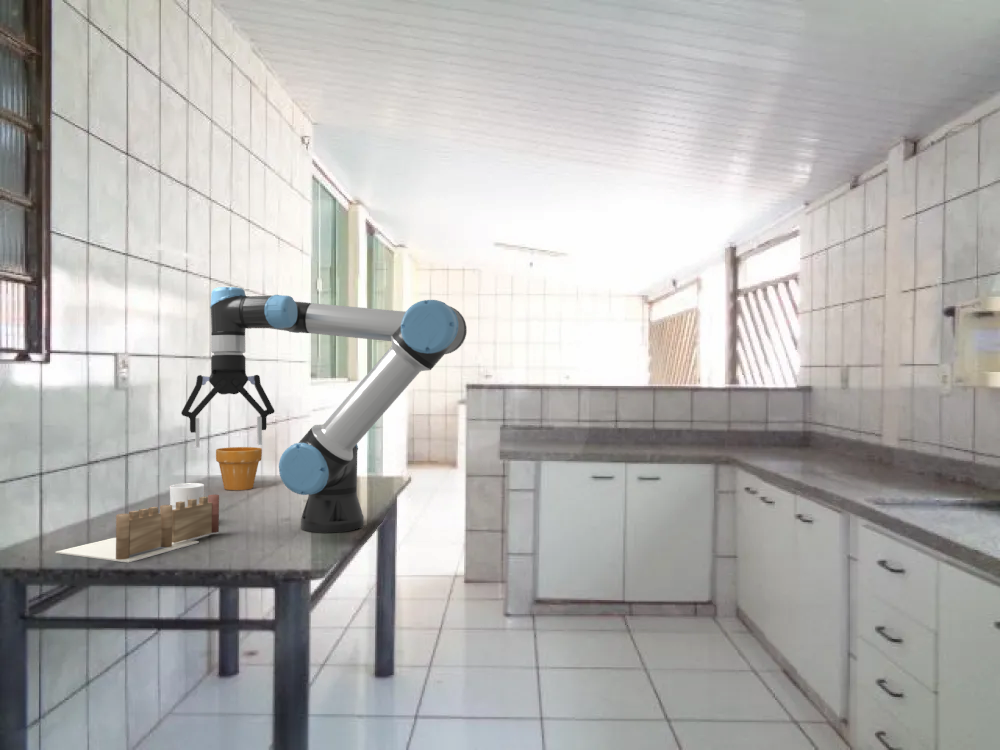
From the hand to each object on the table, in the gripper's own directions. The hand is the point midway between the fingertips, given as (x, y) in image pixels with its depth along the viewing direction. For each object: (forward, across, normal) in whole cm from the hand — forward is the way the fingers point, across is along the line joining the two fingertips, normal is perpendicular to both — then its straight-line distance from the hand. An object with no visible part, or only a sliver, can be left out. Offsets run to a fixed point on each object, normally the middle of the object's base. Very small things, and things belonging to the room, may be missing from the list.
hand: (228, 445), depth 173 cm
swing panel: (+20, +7, +2) cm, 21 cm away
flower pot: (+20, -9, -74) cm, 77 cm away
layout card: (+20, +21, +5) cm, 30 cm away
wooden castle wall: (+21, +18, +12) cm, 30 cm away
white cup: (+21, +9, -15) cm, 27 cm away
